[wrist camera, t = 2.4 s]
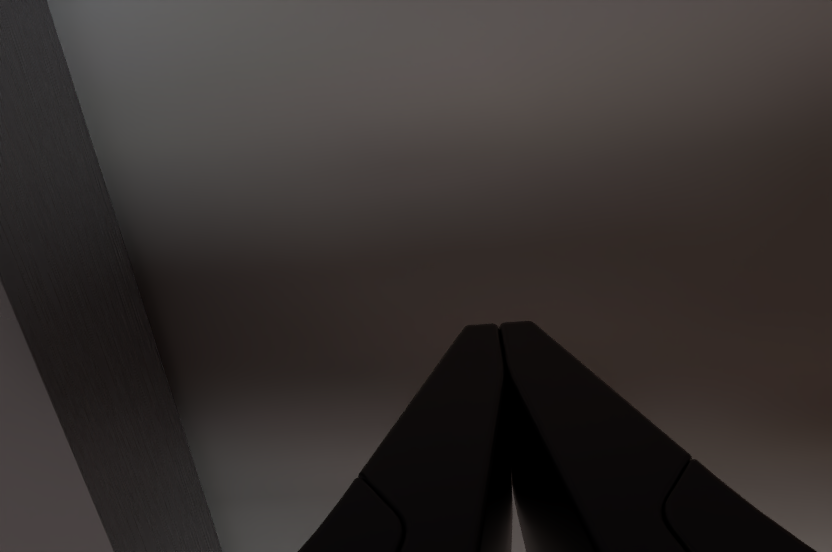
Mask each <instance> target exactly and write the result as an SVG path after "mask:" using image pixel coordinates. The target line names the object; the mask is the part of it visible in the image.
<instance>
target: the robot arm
mask: <svg viewBox="0 0 832 552" xmlns="http://www.w3.org/2000/svg"><path fill="white" fill-rule="evenodd" d="M358 477H359V478H356V479H355V480H354V481H353V483H352V484H351V485H350V487H349V488H348V490H347V491H346V492H345V494H344V495H343V497H342V498H341V499H340V501H339V502H338V503H337V505H336V506H335V507H334V508H333V510H332V511H331V512H330V514H329V515H328V516H327V518H326V519H325V520H324V521H323V523H322V524H321V525H320V527H319V528H318V529H317V530H316V532H315V533H314V534H313V535H312V536H311V537H310V538H309V540H308V541H307V542H306V543H305V544H304V545H303V546H302V548H301V549H300V550H299V551H298V552H511V543H512V486H513V493H514V500H515V505H516V509H517V514H518V519H519V523H520V527H521V531H522V535H523V539H524V544H525V548H526V552H817V551H815V550H814V549H812V548H811V547H809V546H808V545H806V544H805V543H804V542H802V541H801V540H799V539H798V538H797V537H795V536H794V535H792V534H791V533H790V532H788V531H787V530H785V529H784V528H783V527H781V526H780V525H778V524H777V523H776V522H774V521H773V520H772V519H770V518H769V517H767V516H766V515H765V514H763V513H762V512H760V511H759V510H758V509H756V508H755V507H754V506H753V505H751V504H750V503H749V502H748V501H746V500H745V499H744V498H742V497H741V496H740V495H739V494H737V493H736V492H735V491H734V490H732V489H731V488H730V487H729V486H727V485H726V484H725V483H724V482H722V481H721V480H720V479H719V478H717V477H716V476H715V475H714V474H713V473H712V472H710V471H709V470H708V469H707V468H706V467H704V466H703V465H702V464H701V463H700V462H699V461H697V460H695V459H692V457H691V455H690V454H689V453H687V452H686V451H685V450H684V449H683V448H682V447H680V446H679V445H678V444H677V443H676V442H674V441H673V440H672V439H671V438H670V437H669V436H667V435H666V434H665V433H664V432H663V431H661V430H660V429H659V428H658V427H657V426H655V425H654V424H653V423H652V422H651V421H650V420H648V419H647V418H646V417H645V416H644V415H642V414H641V413H640V412H639V411H638V410H637V409H635V408H634V407H633V406H632V405H631V404H629V403H628V402H627V401H626V400H625V399H624V398H622V397H621V396H620V395H619V394H618V393H616V392H615V391H614V390H613V389H612V388H611V387H609V386H608V385H607V384H606V383H605V382H603V381H602V380H601V379H600V378H599V377H598V376H596V375H595V374H594V373H593V372H592V371H590V370H589V369H588V368H587V367H586V366H584V365H583V364H582V363H581V362H580V361H579V360H577V359H576V358H575V357H574V356H573V355H571V354H570V353H569V352H568V351H567V350H566V349H564V348H563V347H562V346H561V345H560V344H558V343H557V342H556V341H555V340H554V339H553V338H551V337H550V336H549V335H548V334H547V333H545V332H544V331H543V330H542V329H541V328H540V327H538V326H537V325H536V324H535V323H533V322H531V321H521V322H507V323H503V324H501V325H500V327H499V328H498V326H497V325H495V324H478V325H468V326H466V327H464V329H463V330H462V331H461V333H460V334H459V336H458V337H457V338H456V340H455V341H454V342H453V344H452V345H451V347H450V348H449V349H448V351H447V352H446V354H445V355H444V356H443V358H442V359H441V361H440V362H439V363H438V365H437V366H436V368H435V369H434V370H433V372H432V373H431V375H430V376H429V377H428V379H427V380H426V382H425V383H424V384H423V386H422V387H421V388H420V390H419V391H418V393H417V394H416V395H415V397H414V398H413V400H412V401H411V402H410V404H409V405H408V407H407V408H406V409H405V411H404V412H403V414H402V415H401V416H400V418H399V419H398V421H397V422H396V423H395V425H394V426H393V427H392V429H391V430H390V432H389V433H388V434H387V436H386V437H385V439H384V440H383V441H382V443H381V444H380V446H379V447H378V448H377V450H376V451H375V453H374V454H373V455H372V457H371V458H370V460H369V461H368V462H367V464H366V465H365V467H364V468H363V469H362V471H361V472H360V473H359V476H358ZM511 478H512V480H511Z"/></svg>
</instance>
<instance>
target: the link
mask: <svg viewBox="0 0 832 552" xmlns="http://www.w3.org/2000/svg"><path fill="white" fill-rule="evenodd" d="M0 552H222V549H221V546H220V543H219V540H218V537H217V534H216V531H215V527H214V524H213V521H212V518H211V515H210V512H209V509H208V505H207V502H206V499H205V496H204V493H203V490H202V487H201V484H200V480H199V477H198V474H197V471H196V468H195V465H194V462H193V458H192V455H191V452H190V449H189V446H188V443H187V440H186V436H185V433H184V430H183V427H182V424H181V421H180V418H179V414H178V411H177V408H176V405H175V402H174V399H173V396H172V393H171V389H170V386H169V383H168V380H167V377H166V374H165V371H164V367H163V364H162V361H161V358H160V355H159V352H158V349H157V345H156V342H155V339H154V336H153V333H152V330H151V327H150V323H149V320H148V317H147V314H146V311H145V308H144V305H143V301H142V298H141V295H140V292H139V289H138V286H137V283H136V280H135V276H134V273H133V270H132V267H131V264H130V261H129V258H128V254H127V251H126V248H125V245H124V242H123V239H122V236H121V232H120V229H119V226H118V223H117V220H116V217H115V214H114V210H113V207H112V204H111V201H110V198H109V195H108V192H107V189H106V185H105V182H104V179H103V176H102V173H101V170H100V167H99V163H98V160H97V157H96V154H95V151H94V148H93V145H92V141H91V138H90V135H89V132H88V129H87V126H86V123H85V119H84V116H83V113H82V110H81V107H80V104H79V101H78V97H77V94H76V91H75V88H74V85H73V82H72V79H71V76H70V72H69V69H68V66H67V63H66V60H65V57H64V54H63V50H62V47H61V44H60V41H59V38H58V35H57V32H56V28H55V25H54V22H53V19H52V16H51V13H50V10H49V6H48V3H47V0H0Z"/></svg>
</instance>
